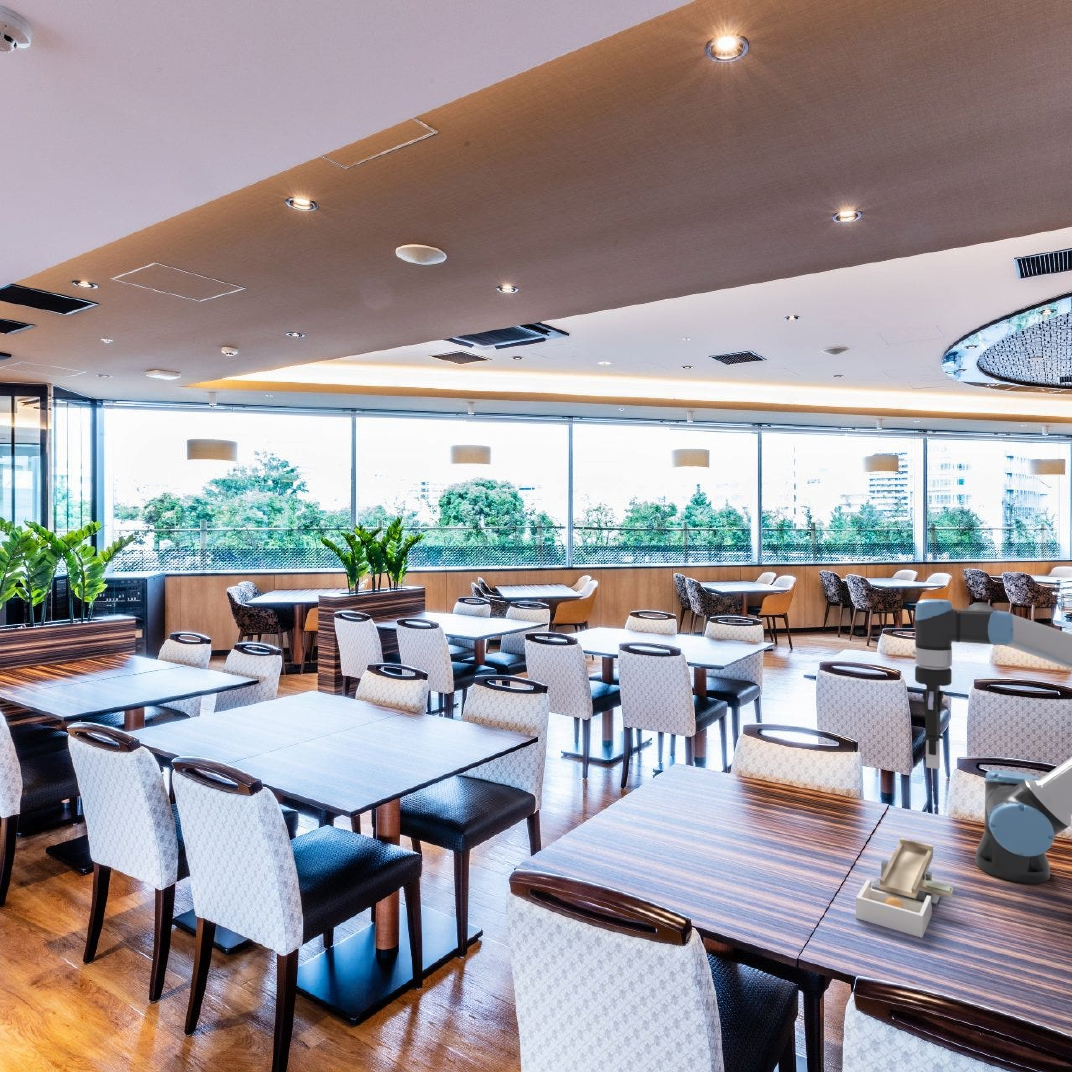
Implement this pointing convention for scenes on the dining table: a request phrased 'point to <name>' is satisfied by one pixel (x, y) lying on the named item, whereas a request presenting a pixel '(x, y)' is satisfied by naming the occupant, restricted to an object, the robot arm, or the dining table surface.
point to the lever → (911, 871)
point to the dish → (893, 911)
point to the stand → (920, 896)
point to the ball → (894, 902)
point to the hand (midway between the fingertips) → (932, 767)
